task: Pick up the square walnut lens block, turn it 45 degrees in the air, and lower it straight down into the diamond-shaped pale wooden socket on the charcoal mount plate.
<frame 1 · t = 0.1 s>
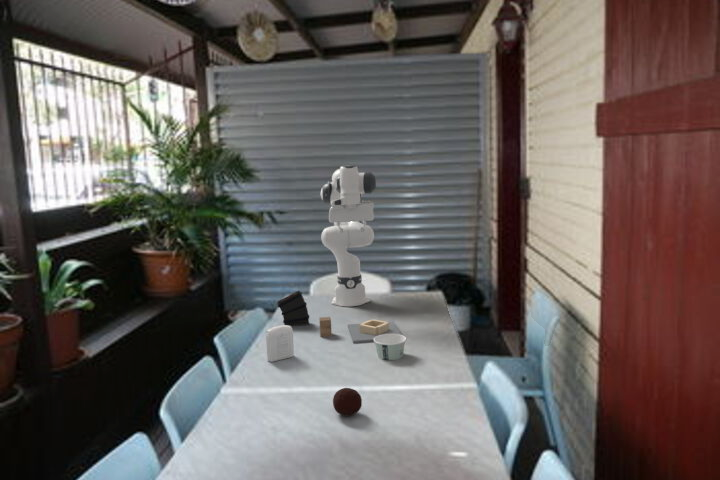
hand: (352, 231, 262), 39 cm above the table, tool pointing down, fingers open, 8 cm apart
mount plate: (374, 332, 242), on the table
lens block: (325, 335, 242), on the table
black ridged flat block: (294, 325, 258), on the table
brown ball: (347, 414, 169), on the table
food container: (390, 356, 215), on the table
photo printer: (280, 358, 217), on the table
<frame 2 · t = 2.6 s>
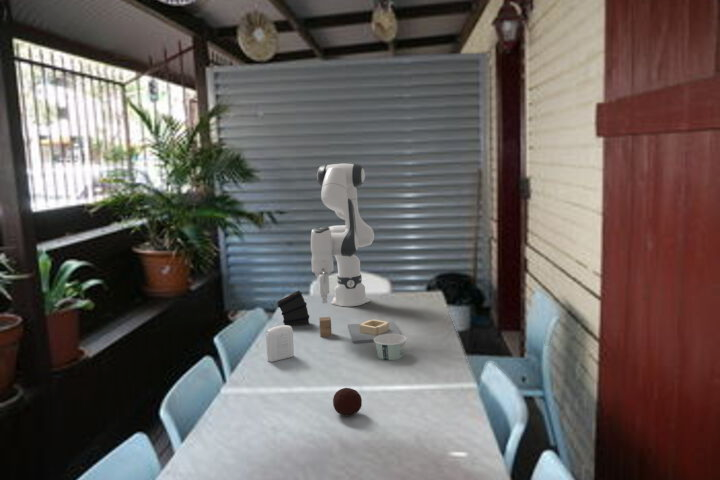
hand: (324, 300, 240), 15 cm above the table, tool pointing down, fingers open, 8 cm apart
nothing on the table moved.
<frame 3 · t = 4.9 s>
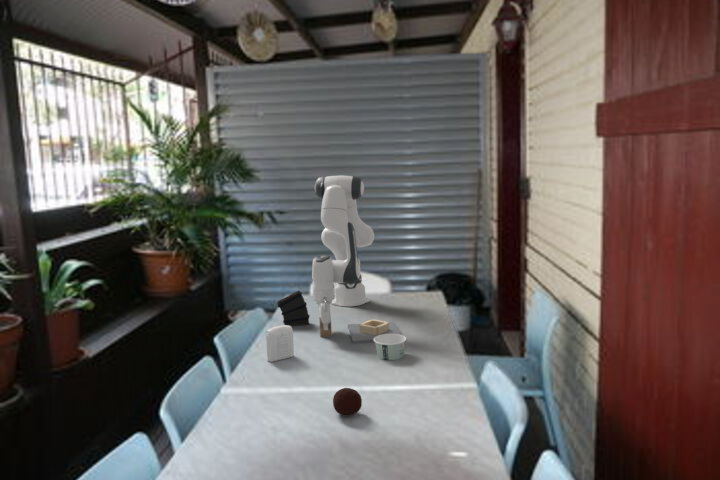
hand: (325, 327, 242), 3 cm above the table, tool pointing down, fingers closed on lens block, 4 cm apart
lens block: (325, 334, 242), on the table, touching gripper
everything else where it was.
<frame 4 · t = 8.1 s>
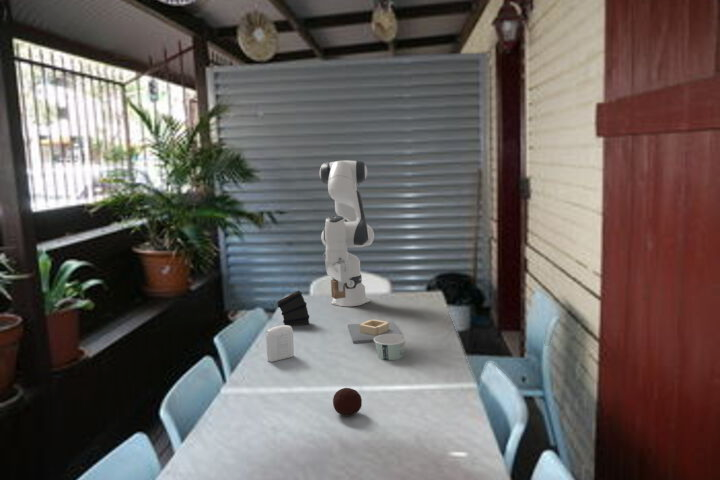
hand: (338, 289, 239), 19 cm above the table, tool pointing down, fingers closed on lens block, 4 cm apart
lens block: (338, 297, 240), point 16 cm above the table, touching gripper
everything else where it was.
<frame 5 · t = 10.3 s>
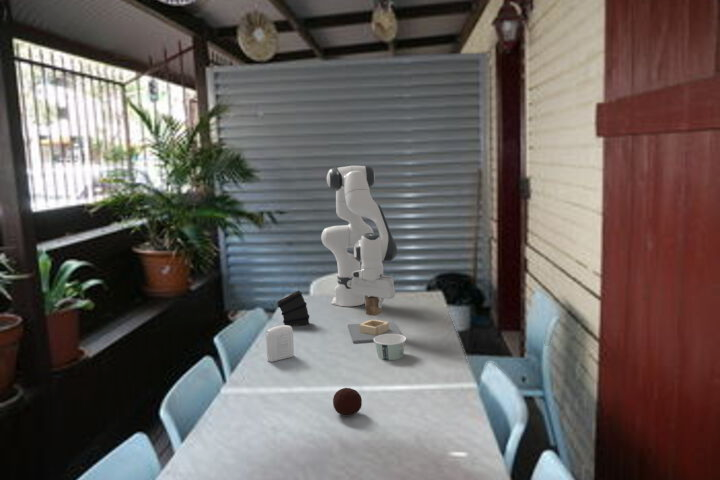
hand: (373, 306, 240), 11 cm above the table, tool pointing down, fingers closed on lens block, 4 cm apart
lens block: (373, 313, 241), point 8 cm above the table, touching gripper
everything else where it was.
when the fingers open (6 cm above the table, at t = 11.9 s): lens block drops 1 cm, resting on mount plate.
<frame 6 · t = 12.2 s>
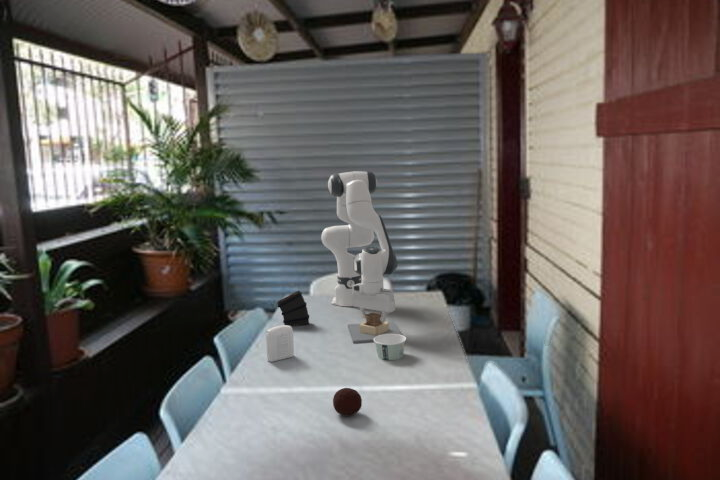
hand: (373, 319, 241), 6 cm above the table, tool pointing down, fingers open, 8 cm apart
lens block: (374, 330, 242), point 1 cm above the table, touching mount plate
everything else where it was.
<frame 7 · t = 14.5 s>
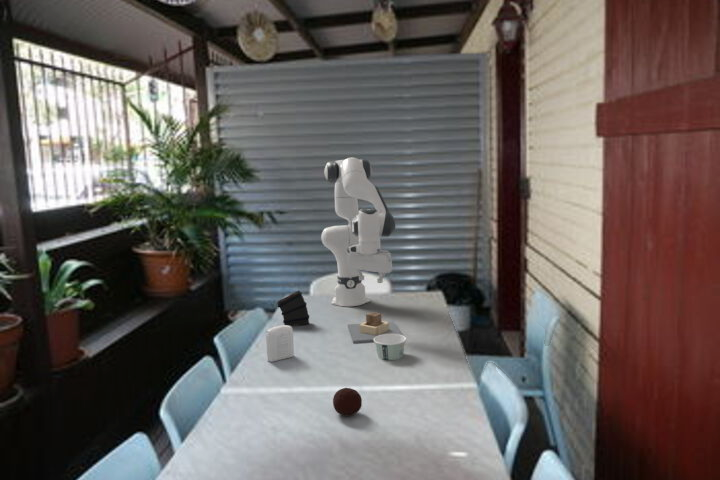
hand: (370, 281, 240), 22 cm above the table, tool pointing down, fingers open, 8 cm apart
nothing on the table moved.
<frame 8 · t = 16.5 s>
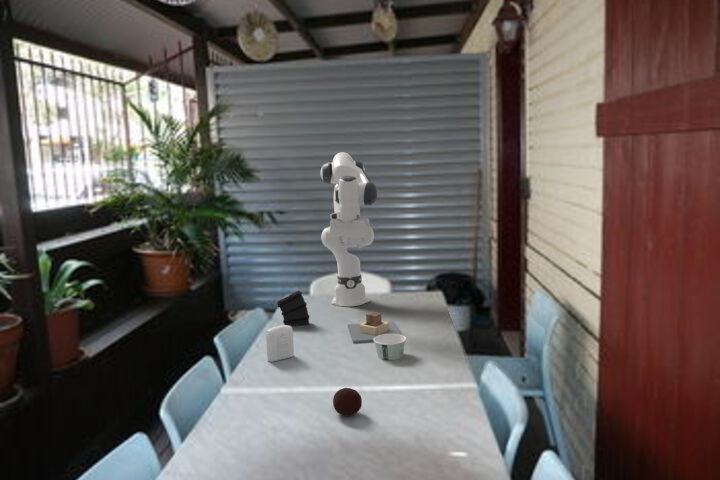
hand: (351, 247, 250), 34 cm above the table, tool pointing down, fingers open, 8 cm apart
nothing on the table moved.
at the end: lens block 0.1 cm off-centre on the mount plate, point 1.0 cm above the mount plate's base; lens block tilted 0°; the gripper is holding nothing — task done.
